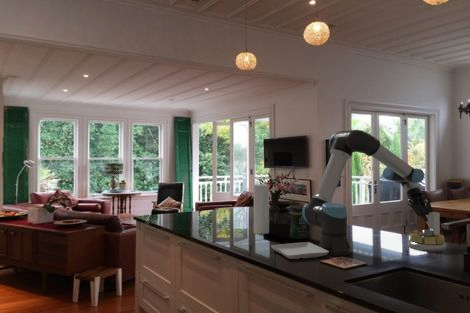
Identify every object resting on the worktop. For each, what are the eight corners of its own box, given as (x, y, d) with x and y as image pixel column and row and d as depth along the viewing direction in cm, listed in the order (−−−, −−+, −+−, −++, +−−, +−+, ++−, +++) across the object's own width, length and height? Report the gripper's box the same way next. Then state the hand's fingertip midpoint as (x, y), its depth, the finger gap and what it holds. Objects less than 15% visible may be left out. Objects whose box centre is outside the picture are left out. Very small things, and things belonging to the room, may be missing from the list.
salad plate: (287, 262, 169) (287, 254, 169) (270, 251, 189) (270, 244, 189) (330, 258, 175) (330, 251, 175) (308, 248, 195) (308, 241, 195)
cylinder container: (256, 234, 231) (256, 184, 231) (251, 231, 240) (251, 183, 240) (271, 233, 234) (271, 184, 234) (265, 230, 243) (265, 183, 243)
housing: (421, 252, 185) (421, 233, 185) (402, 244, 201) (401, 227, 202) (454, 251, 187) (453, 232, 187) (431, 243, 204) (431, 226, 204)
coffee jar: (295, 239, 215) (295, 206, 215) (287, 237, 222) (287, 205, 222) (309, 238, 219) (309, 205, 219) (301, 235, 226) (301, 204, 226)
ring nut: (431, 245, 184) (431, 216, 184) (404, 239, 197) (404, 212, 197) (451, 242, 192) (451, 214, 192) (424, 236, 205) (424, 210, 205)
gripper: (421, 195, 221) (440, 229, 204) (399, 195, 219) (417, 230, 202) (427, 186, 215) (447, 221, 199) (404, 187, 213) (423, 222, 197)
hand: (432, 226), depth 201 cm, fingers closed
